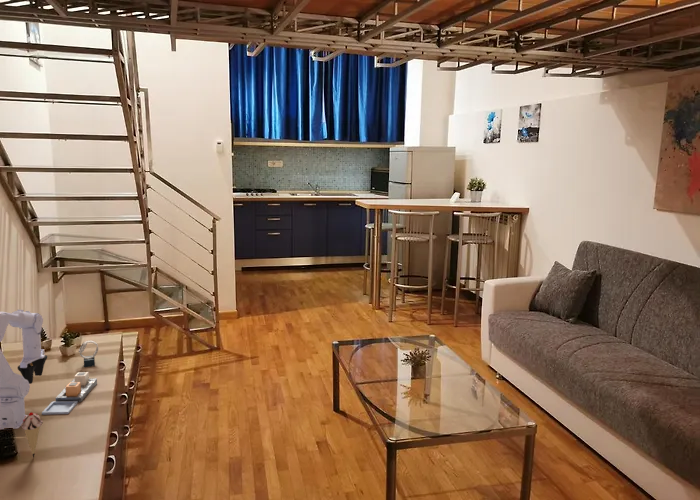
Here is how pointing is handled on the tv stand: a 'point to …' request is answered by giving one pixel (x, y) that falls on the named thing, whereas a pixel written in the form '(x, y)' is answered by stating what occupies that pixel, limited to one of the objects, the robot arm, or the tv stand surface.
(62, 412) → the tray
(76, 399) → the grey rectangular holder
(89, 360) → the watch
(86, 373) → the beige box
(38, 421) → the ice cream cone
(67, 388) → the plug
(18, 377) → the robot arm
